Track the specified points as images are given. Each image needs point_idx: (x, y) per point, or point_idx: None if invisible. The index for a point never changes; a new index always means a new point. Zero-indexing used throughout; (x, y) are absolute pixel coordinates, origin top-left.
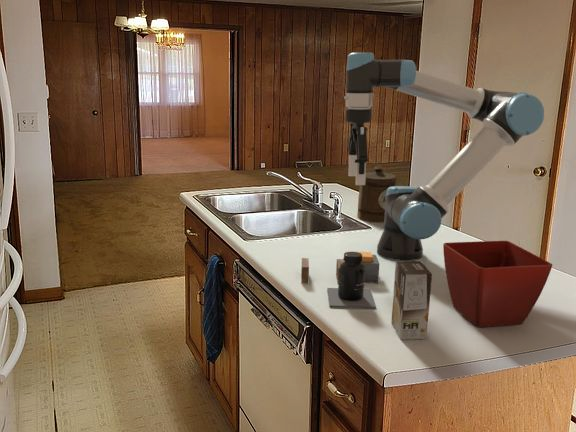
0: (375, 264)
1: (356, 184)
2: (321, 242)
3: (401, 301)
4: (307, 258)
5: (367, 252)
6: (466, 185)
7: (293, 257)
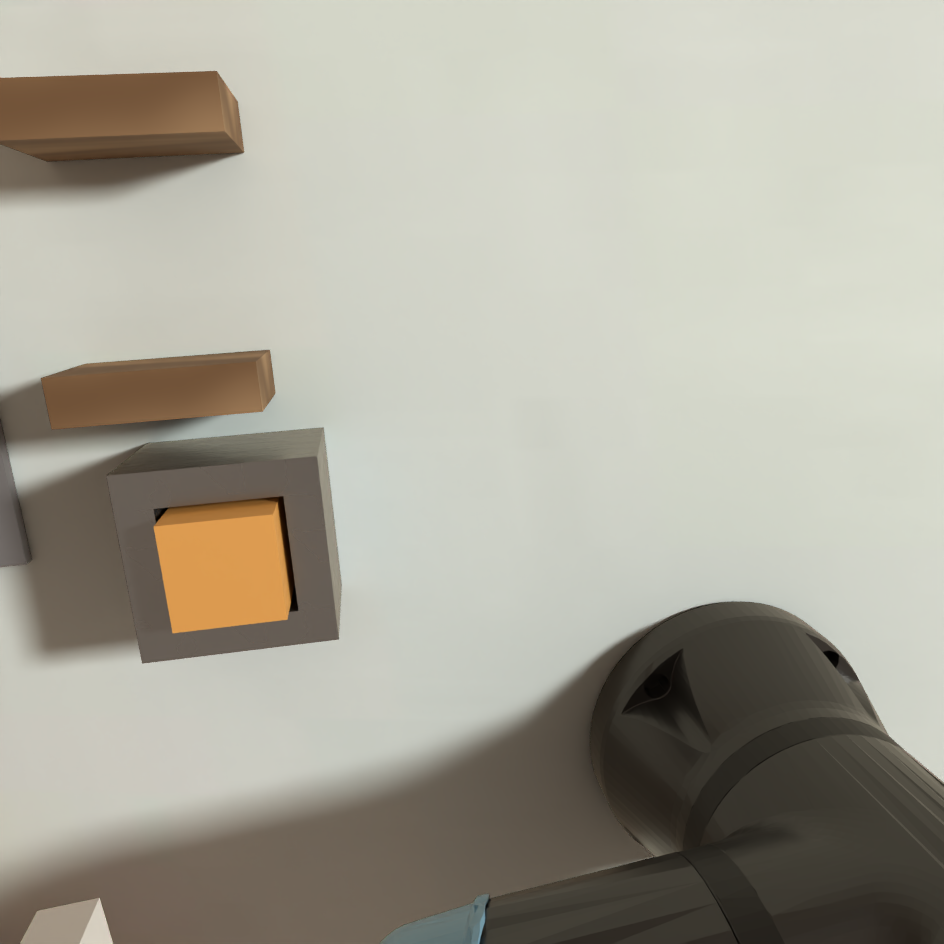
0: (139, 635)
1: (38, 932)
2: (920, 236)
3: None
4: (213, 122)
5: (273, 596)
6: None
7: (578, 26)
